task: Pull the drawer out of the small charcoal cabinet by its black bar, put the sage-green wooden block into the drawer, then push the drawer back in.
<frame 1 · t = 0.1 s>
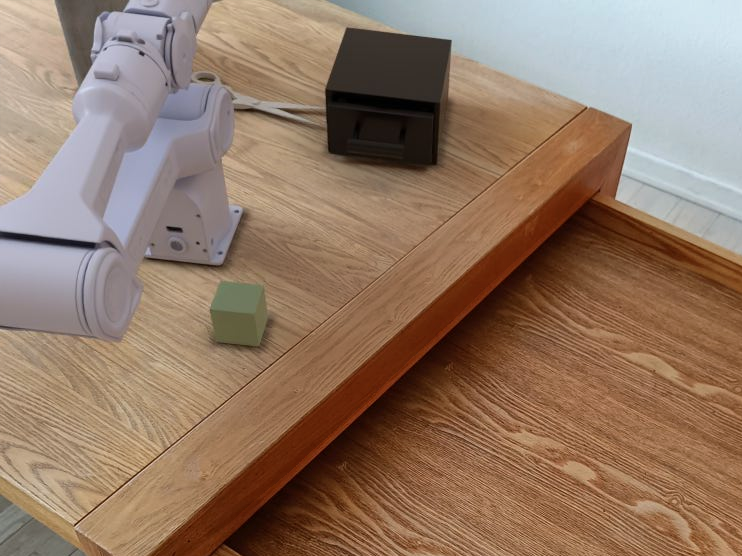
scissors: (249, 109, 106), on the table
hip flask: (115, 67, 109), on the table
cabinet: (390, 125, 106), on the table
block: (242, 330, 82), on the table
drawer: (386, 114, 101), point 4 cm above the table, slide at 0.5 cm
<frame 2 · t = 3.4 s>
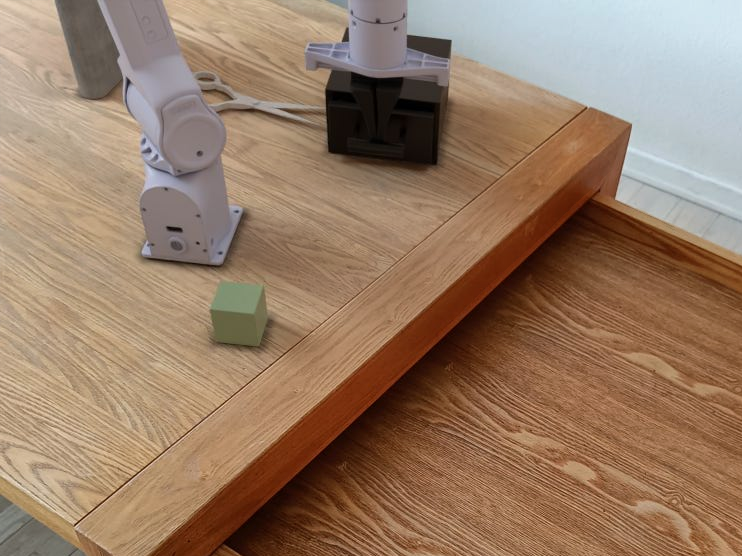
hand: (378, 139, 96), 5 cm above the table, tool pointing down, fingers closed, pressing on drawer
drawer: (386, 114, 101), point 4 cm above the table, slide at 0.4 cm, touching gripper
everything else where it was.
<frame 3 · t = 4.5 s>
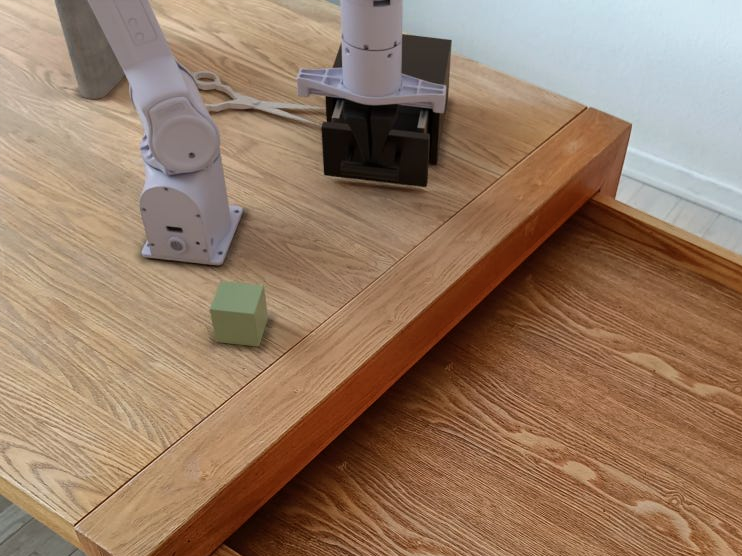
hand: (372, 165, 94), 4 cm above the table, tool pointing down, fingers closed, pressing on drawer
drawer: (380, 135, 98), point 4 cm above the table, slide at 4.8 cm, touching gripper
everything else where it was.
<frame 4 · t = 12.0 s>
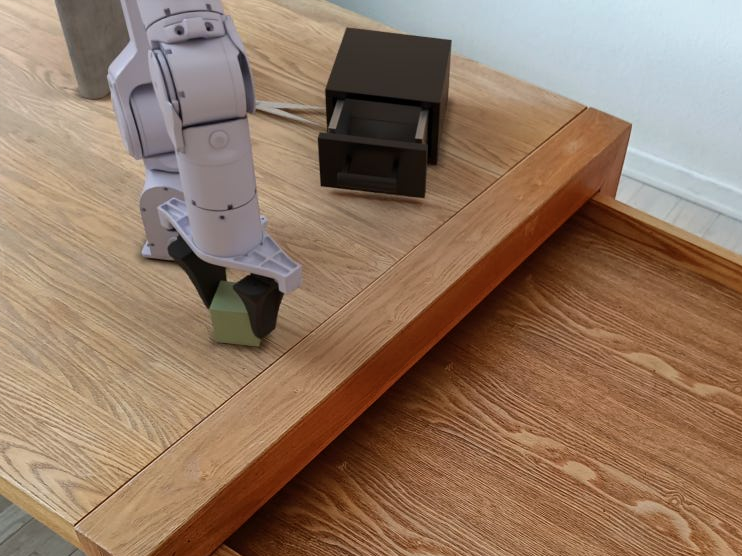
hand: (241, 318, 81), 1 cm above the table, tool pointing down, fingers closed on block, 5 cm apart
block: (242, 330, 82), on the table, touching gripper
drawer: (378, 145, 97), point 4 cm above the table, slide at 6.9 cm
everything else where it was.
when the fingers open (10 cm above the table, at t = 35.1 s): block drops 7 cm, resting on drawer.
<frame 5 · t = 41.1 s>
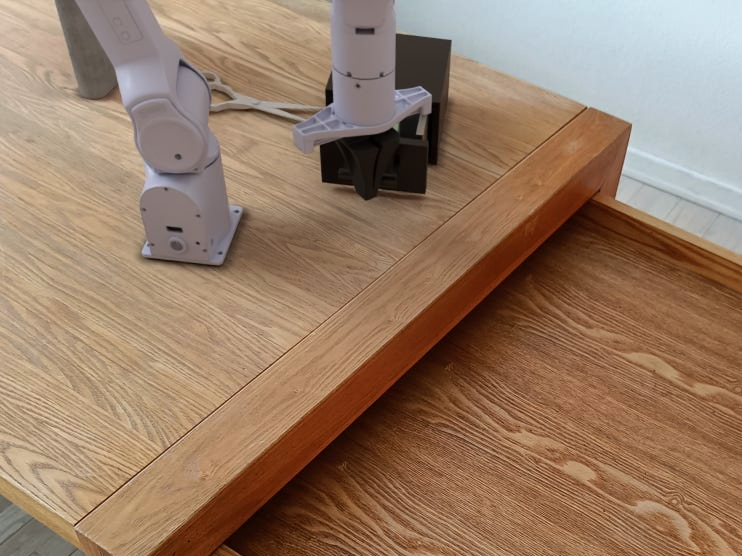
hand: (365, 194, 91), 4 cm above the table, tool pointing down, fingers closed
block: (380, 155, 99), point 2 cm above the table, touching drawer
drawer: (379, 141, 97), point 4 cm above the table, slide at 6.1 cm, touching block, gripper
everything else where it was.
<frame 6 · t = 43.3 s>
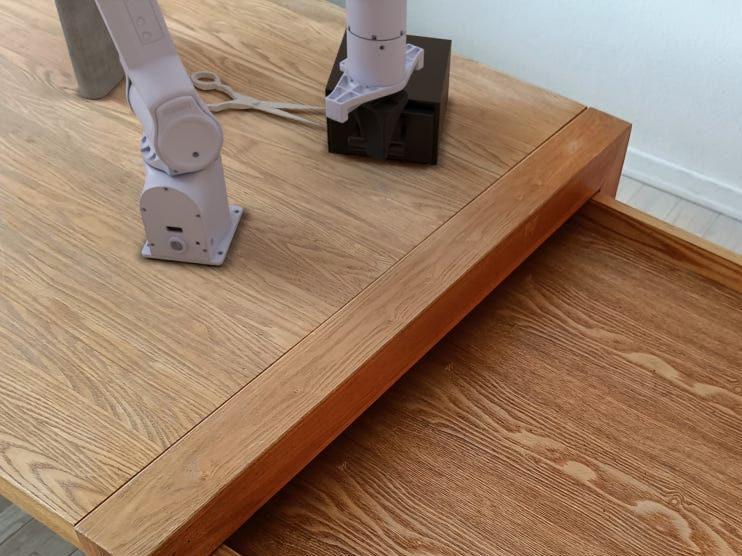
hand: (377, 156, 95), 4 cm above the table, tool pointing down, fingers closed, pressing on drawer
block: (387, 126, 102), point 2 cm above the table, touching drawer
drawer: (386, 112, 101), point 4 cm above the table, slide at 0.0 cm, touching block, cabinet, gripper
everything else where it was.
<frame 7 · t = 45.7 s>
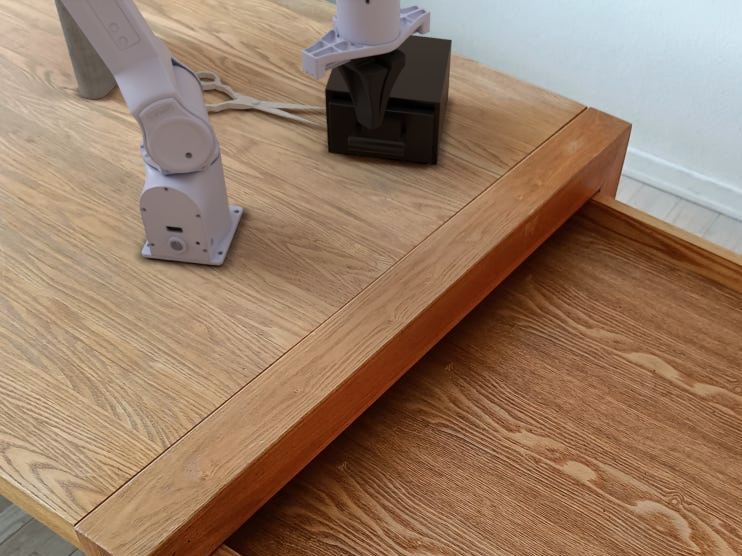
hand: (369, 123, 88), 10 cm above the table, tool pointing down, fingers closed
drawer: (386, 112, 101), point 4 cm above the table, slide at 0.0 cm, touching block, cabinet
everything else where it was.
at the end: drawer pulled out 6.9 cm at the most during the clip, back to where it started at the end; block inside the target area in the cabinet (3.3 cm from its centre), point 2.0 cm above the cabinet's base; drawer slide at 0.0 cm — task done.
